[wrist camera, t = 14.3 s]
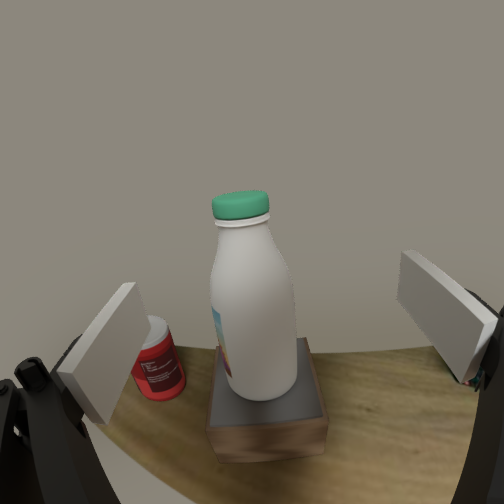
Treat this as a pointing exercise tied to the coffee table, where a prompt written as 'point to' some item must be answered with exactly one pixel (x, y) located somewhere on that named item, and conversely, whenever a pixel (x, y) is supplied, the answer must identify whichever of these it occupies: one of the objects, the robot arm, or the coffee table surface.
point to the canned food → (158, 364)
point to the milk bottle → (252, 299)
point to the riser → (267, 417)
